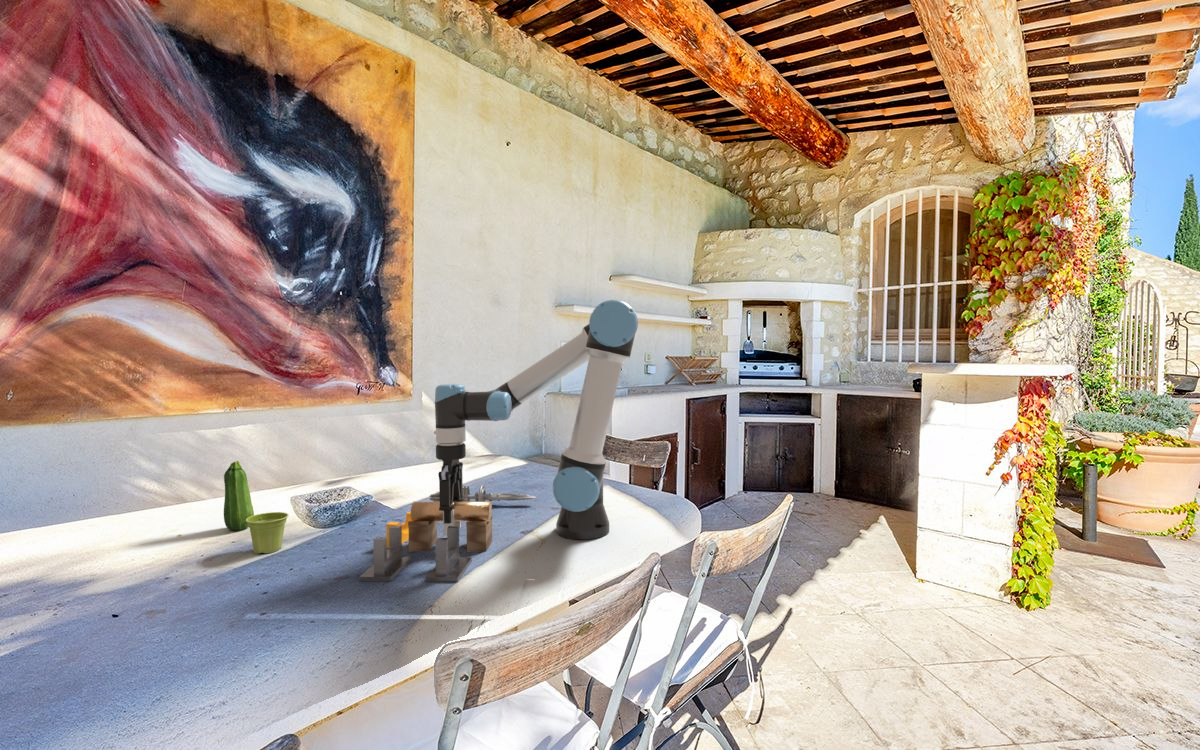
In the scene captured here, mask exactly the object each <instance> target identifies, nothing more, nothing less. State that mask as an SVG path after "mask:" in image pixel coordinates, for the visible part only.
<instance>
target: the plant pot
mask: <svg viewBox="0 0 1200 750" xmlns="http://www.w3.org/2000/svg"><path fill="white" fill-rule="evenodd" d="M288 518H289V513H288V512H285V511H284V512H283V511H275V512H273V511H271V512H270V511H269V512H265V513H264V512H263V513H257V514H254V515H253V516H251V517H248V518H247V519H246V522H247V523H248V526H249V527H248V528H249V531H250V532H249V533H250V536H251V544H252V549H253V553H255V554H261V553H264V554H270V553H275V552H277V551H279V550H280V549H282V546H283V540H284V531H285V525H286V523H287V519H288Z"/></svg>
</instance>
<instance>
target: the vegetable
mask: <svg viewBox="0 0 1200 750" xmlns="http://www.w3.org/2000/svg"><path fill="white" fill-rule="evenodd" d="M223 481H224V482H223V484H224V502H223V503H224V504H223V521H224V524H225V526H226V528H227V529H228V530H230V531H232V532H233V531H234V532H237V531H238V530H239V531H243V529H244V530H246V529H248V528H249V526H248V523H247V522H246V519H247V518H248V517H251V516H253V515H255V513H254V507H253V503H252V498H251V491H250V487H249V483H248V477H247V473H246V471H245V470H244V469H243V467H242V465H241V463H240V461H239V460H235V461H233V462H232V463H230V465H229V466H228V468H227V470H226V471H225V472H224V475H223Z"/></svg>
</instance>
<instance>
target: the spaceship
mask: <svg viewBox="0 0 1200 750" xmlns="http://www.w3.org/2000/svg"><path fill="white" fill-rule="evenodd" d="M429 497H430V498H429V500H428V501H430V502H440V494H439V491H437V492H435V493H432V494H430V495H429ZM462 499H464V502H471V500H474V502H487V501H488V502H493V501H497V502H500V501H525V500H527V501H529V500H533V499H537V496H535V495H531V494H521V493H520V494H519V493H518V494H517V493H509V492H507V493H503V492H502V493H500V492H498V493H493V492H489V493H487V492H486V488H485V485H484V484H482V485H481V486H480V487H479V490H478V492H477V491H476V492H475V494H473V495H472V494H471V492H470V486H467V487H466V486H465V485H463V498H462Z"/></svg>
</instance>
